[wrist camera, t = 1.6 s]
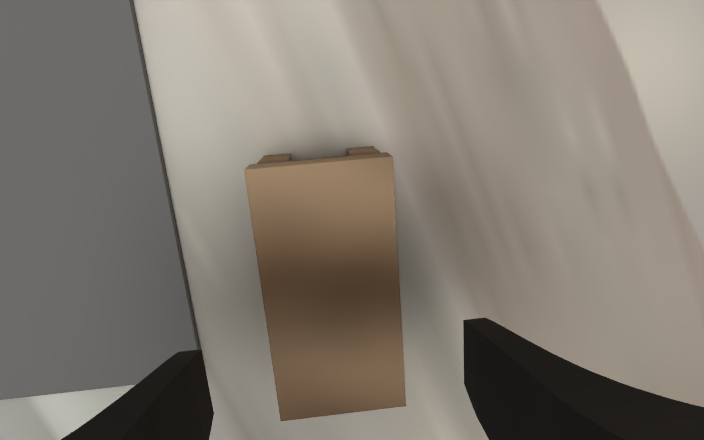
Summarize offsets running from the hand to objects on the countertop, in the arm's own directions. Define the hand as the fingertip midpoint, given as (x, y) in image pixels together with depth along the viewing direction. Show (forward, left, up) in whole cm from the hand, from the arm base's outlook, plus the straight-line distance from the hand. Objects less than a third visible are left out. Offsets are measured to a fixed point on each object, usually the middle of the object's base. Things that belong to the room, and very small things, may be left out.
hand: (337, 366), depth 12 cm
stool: (0, 0, -10) cm, 10 cm away
